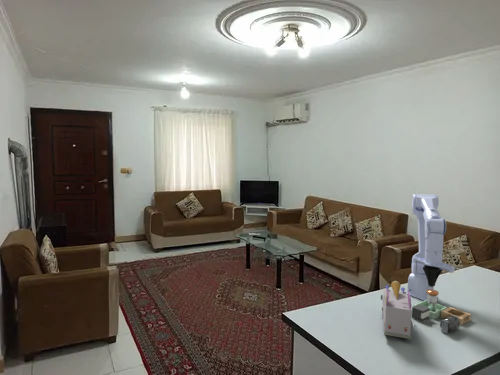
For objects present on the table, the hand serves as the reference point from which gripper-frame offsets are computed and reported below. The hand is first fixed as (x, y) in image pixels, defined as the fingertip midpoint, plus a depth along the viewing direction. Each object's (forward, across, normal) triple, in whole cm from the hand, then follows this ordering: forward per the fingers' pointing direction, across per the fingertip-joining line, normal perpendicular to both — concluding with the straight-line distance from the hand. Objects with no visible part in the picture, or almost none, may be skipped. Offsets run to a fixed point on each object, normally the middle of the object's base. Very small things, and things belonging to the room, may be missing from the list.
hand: (431, 285), depth 127 cm
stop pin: (+10, 0, 0) cm, 10 cm away
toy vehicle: (+11, 0, -22) cm, 25 cm away
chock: (+10, +1, -8) cm, 13 cm away
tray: (+10, 0, 0) cm, 10 cm away
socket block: (+10, +8, +3) cm, 13 cm away
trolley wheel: (+10, +11, -8) cm, 17 cm away
